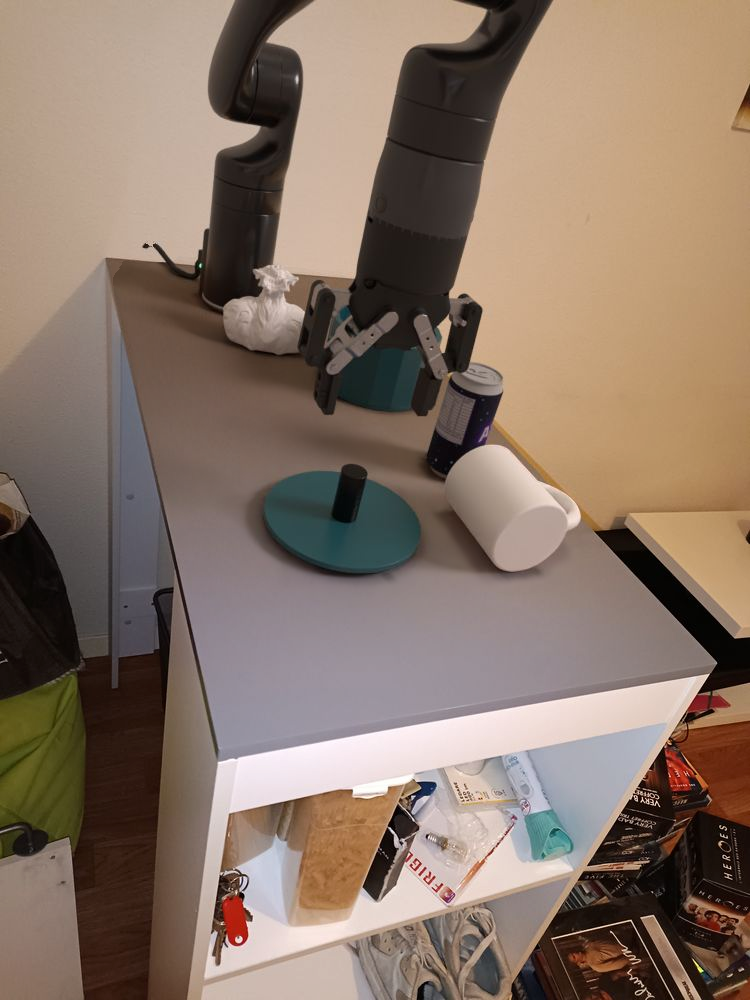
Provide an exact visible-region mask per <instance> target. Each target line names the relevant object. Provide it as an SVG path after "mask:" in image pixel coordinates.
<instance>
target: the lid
mask: <svg viewBox="0 0 750 1000" xmlns="http://www.w3.org/2000/svg"><path fill="white" fill-rule="evenodd" d="M368 474H369V473H368V470H367V469H366V468H365V467H364V466H362V465H359V464H356V463H347V464H344V465H342V467H341V469H340V471H334V470H314V471H313V470H312V471H304V472H301V473H296V474H293V475H290V476H288V477H285V478H283V479H281V480H280V481H279V482H277V483H275V485H274V486H272V488H270V490H269V491H268V493H267V494H266V497H265V500H264V504H263V509H262V512H263V513H262V515H263V519H264V524H265V525H266V528H267V530H268V532H269V533H270V534H271V536H272V537H273V538H274V540H275V541H276V542H278V544H279V545H281V546H282V547H283V549H285V550H286V551H288V552H289V553H291V554H293V555H294V556H295V557H298V558H299V559H301V560H303V561H305V562H307V563H310V564H312V565H314V566H317V567H321V568H323V569H326V570H331V571H335V572H342V573H348V574H372V573H380V572H384V571H389V570H391V569H393V568H396V567H398V566H400V565H403V564H404V563H405V562H407V561H408V560H409V559H411V557H412V556H413V555H415V552H416V551H417V550H418V547H419V544H420V542H421V538H422V527H421V523H420V519H419V517H418V516H417V513H416V512H415V511H414V509H413V507H412V506H411V505H410V504H409V503H408V502H407V501H406V500H405V499H404V498H403V497H402V496H401V495H399V494H397V493H396V492H395V491H393V490H391V489H390V488H388V487H387V486H385V485H383V484H382V483H379V482H377V481H374V480H372V479H370V478H368Z"/></svg>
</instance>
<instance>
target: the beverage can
mask: <svg viewBox="0 0 750 1000" xmlns="http://www.w3.org/2000/svg"><path fill="white" fill-rule="evenodd" d="M503 382H504V376H503V375H502V373H501V372H500V371H498V370H497V369H495V368H494V367H492V366H489V365H487V364H485V363H480V362H476V361H470V364H469V367H468V369H467V370H466V371H465V372H464V373H458V372H457V371H456V372H452V373H450V376H449V380H448V383H447V385H446V390H445V392H444V396H443V399H442V403H441V405H440V409H439V412H438V416H437V419H436V422H435V425H434V429H433V432H432V435H431V439H430V442H429V446H428V449H427V453H426V455H425V459H426V462H427V463H428V465H429V466H430V468H431V469H430V470H431V471H432V472H433V473H434V474H435V475H437V476H438V477H441V478H443V479H445V480H446V478H447V475H448V473H449V471H450V470H451V468H452V467H453V466H454V464H455V463H456V462H457V461H458V460H459V459H460V458H461V457H462V456H464V455H465V454H466V453H468V452H469V451H471V450H473V449H475V448H478V447H480V446H484V445H486V444H487V443H486V442H487V440H488V437H489V434H490V431H491V429H492V426H493V423H494V420H495V417H496V415H497V412H498V409H499V406H500V403H501V400H502V397H503V394H504V386H503Z"/></svg>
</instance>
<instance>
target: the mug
mask: <svg viewBox="0 0 750 1000" xmlns="http://www.w3.org/2000/svg"><path fill="white" fill-rule="evenodd" d="M443 492H444V497H445V499H446V501H447V503H448V504H449V505H450V506H451V508H452V509H453V511H454V512H455V513H456V515H457V516H458V518H459V519H460V520H461V522H462V523H463V524H464V526H465V527H466V528H467V530H468V531H469V532H470V533H471V535H472V536H473V537H474V540H476V542H477V543H478V545H479V546H480V547H481V549H483V551H484V552H485V554H486V555H487V556H488V558H489V559H490V561H491V562H492V563H493V565H494V566H496V568H498V569H500V570H501V571H505V572H513V573H515V572H523V571H525V570H528V569H532V568H533V567H535V566H537V565H539V564H541V563H543V562H544V561H545V560H546V559H548V557H550V556H552V554H554V552H555V551H556V550H557V549H558V548H559V546H560V545H561V544H562V542H563V540H564V538H565V537H566V535H567V532H568V531H572V530H573V529H575V528H576V527H578V525H579V524H580V522H581V519H582V518H581V517H582V516H581V511H580V508H579V507H578V504H577V503H576V502H575V501H574V499H573V498H572V497H570V495H568V494H566V493H565V492H564V491H562V490H560V489H558V488H556V487H554V486H552V485H550V484H548V483H545V482H542V481H539V480H537V478H536V477H535V476H534V475H533V473H531V472H530V471H529V470H528V468H527V467H526V466H525V465H524V464H523V463H522V462H521V461H520V459H518V458H517V456H516V455H515V454H514V453H513V452H512V451H511V450H510V449H509V448H507V447H505V446H503V445H500V444H485V445H484V446H480V447H478V448H475V449H473V450H471V451H469V452H468V453H466V454H465V455H464V456H462V457H461V458H460V459H459V460H458V461H457V462H456V463H455V464H454V466H453V467H452V468H451V470H450V471H449V473H448V475H447V478H446V479H445V482H444V491H443Z"/></svg>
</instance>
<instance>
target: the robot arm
mask: <svg viewBox="0 0 750 1000" xmlns="http://www.w3.org/2000/svg"><path fill="white" fill-rule="evenodd" d="M315 1H316V0H234V2H233V4H232V6H231V8H230V11H229V13H228V16H227V18H226V21H225V23H224V24H223V27H222V30H221V32H220V34H219V36H218V40H217V42H216V45H215V47H214V50H213V54H212V57H211V61H210V64H209V65H210V66H209V70H208V76H207V96H208V102H209V105H210V107H211V109H212V111H213V113H215V114H216V115H217V116H218V117H219V118H222V119H224V120H226V121H229V122H233V123H236V124H237V123H238V124H244V125H249V126H256V127H259V129H258V131H257V133H256V134H255V135H254V136H252V137H251V138H250V139H248V140H247V141H244V142H242V143H239V144H236V145H233V146H228V147H225V148H222V149H220V150H219V151H218V152H217V153H216V155H215V158H214V159H215V160H214V167H213V168H214V169H213V181H212V192H211V204H210V214H209V225H208V228H207V227H206V228H205V229H204V230H203V239H202V248H201V249H200V248H199V249H198V252H197V259H196V261H195V262H194V272H193V273H190V272H187V271H185V270H183V269H181V268H179V267H178V266H177V265H176V264H175V263H174V261H173V260H172V259H171V258H170V256H169V255H168V254H167V252H166V251H165V250H164V249H163V248H162V246H160V245H159V244H158V243H157V242H155V244H153V247H154V248H153V247H152V246H149V245H148V244H146V242H145V243H143V245H142V247H141V248H142V249H144V250H145V249H146V250H148V249H149V248H153V249H155V250H156V251H157V252H158V254H159V256H161V258H162V260H163V261H164V262H165V263H166V264H167V266H169V268H170V270H171V271H172V272H174V273H175V274H178V275H179V276H181V277H183V278H185V279H187V280H188V279H189V280H196V279H198V278H199V284H198V296H200V297H201V301H202V303H203V304H204V305H205V306H206V307H208V308H210V309H211V310H212V311H216V312H218V313H220V314H221V313H222V314H223V313H224V311H223V307H224V306H225V305H226V304H227V303H228V302H229V301H231V300H232V299H240V298H242V297H246V296H252V297H259V295H260V294H261V293H262V290H263V287H262V286H258V284H259V282H260V278H259V279H256V278H255V277H256V276H255V274H254V273H253V269H257V270H258V269H260V268H264V267H266V266H267V265H273V264H274V262H275V253H276V249H277V248H276V247H277V239H278V232H279V226H280V218H281V211H282V204H283V197H284V191H285V183H286V177H287V173H288V171H289V167H290V164H291V159H292V152H293V148H294V147H293V145H294V142H295V135H296V130H297V126H298V121H299V116H300V110H301V105H302V99H303V91H304V68H303V62H302V59H301V57H300V55H299V54H298V52H297V51H296V50H295V49H293V48H291V47H288V46H285V45H281V44H277V43H273V42H272V43H271V42H267V41H268V40H269V38H270V37H272V35H273V33H274V32H276V30H277V29H279V28H280V27H281V26H282V25H284V24H285V23H286V22H287V21H289V20H290V19H292V18H293V17H295V16H296V15H298V14H299V13H300V12H301V11H303V10H304V9H306V8H307V7H309V6H310V5H311V4H313V3H315ZM452 1H453V2H456V3H461V4H464V5H468V6H471V7H475V8H479V9H481V10H485V11H486V12H485V14H484V16H483V18H482V20H481V22H480V23H479V25H478V26H477V27H476V28H475V29H474V31H473V32H472V34H471V35H470V36H468V38H466V39H465V40H463V41H459V42H448V43H445V42H444V43H441V42H440V43H438V42H437V43H436V42H435V43H434V42H431V43H430V42H429V43H421V44H416V45H414V46H412V47H411V48H410V49H409V50H408V51H407V52H406V53H405V55H404V57H403V59H402V63H401V66H400V69H399V73H398V78H397V84H396V88H395V94H394V99H393V103H392V109H391V112H390V113H391V114H390V118H389V122H388V127H387V132H386V137H385V142H384V146H383V149H382V152H381V155H380V157H379V159H378V163H377V167H376V170H375V173H374V178H373V184H372V189H371V193H370V197H369V203H368V208H367V211H366V216H365V217H366V218H365V222H364V226H363V227H364V228H363V232H362V238H361V242H360V247H359V252H358V257H357V262H356V269H355V270H356V271H355V276H354V278H353V281H352V282H351V284H350V285H349V286H348V288H345V287H336V286H330V285H328V284H327V283H326V282H325V281H324V280H322V279H316V280H314V281H313V282H312V283H311V285H310V289H309V294H308V298H307V302H306V306H305V310H304V311H305V315H304V319H303V323H302V328H301V332H300V336H299V341H298V345H297V348H298V350H299V352H300V354H301V356H302V358H303V360H304V362H305V364H306V365H307V366H308V367H310V368H311V367H316V368H317V371H316V377H315V382H314V388H313V393H312V395H313V399H314V402H315V403H316V405H317V407H318V408H319V409H320V411H321V412H322V414H323V416H334V414H335V410H336V405H337V401H338V397H339V396H338V391H339V387H340V382H341V377H342V376H341V375H340V373H339V372H340V371H341V370H342V369H343V368H344V367H345V366H346V365H347V364H348V363H349V362H350V361H351V360H352V359H353V358H357V357H360V356H361V355H362V354H363V353H364V352H365V351H366V350H367V349H368V348H369V347H370V346H371V345H372V346H373V347H374V348H375V349H388V348H397V349H400V350H404V351H411V348H413V347H416V348H417V349H418V352H419V354H420V356H421V358H422V360H423V363H424V364H425V368H421V367H420V370H419V374H418V378H417V381H416V385H415V389H414V392H413V396H412V400H411V408H412V409H411V410H412V411H413V412H414V413H415V414H416V415H415V416H417V417H427V416H428V415H429V412H430V411H433V409H434V408H435V406H436V403H437V401H438V397H439V394H440V390H441V387H442V383H443V380H444V379H445V378H446V377H447V376H448V375H449V374H452V373H453V372H456V371H457V372H458V373H464V372H465V371H466V370H467V369H468V367H469V364H470V362H471V360H472V355H473V352H474V348H475V343H476V339H477V336H478V331H479V327H480V324H481V320H482V316H483V311H484V309H483V307H482V306H481V305H480V304H479V303H478V302H477V301H476V300H475V299H474V298H472V297H471V296H470V295H469V294H467V293H465V292H464V293H461V294H459V295H458V296H457V298H456V297H454V298H453V297H450V292H451V290H452V289H453V288H454V286H455V283H456V279H457V277H458V272H459V269H460V265H461V262H462V258H463V254H464V250H465V248H466V243H467V241H468V237H469V233H470V230H471V226H472V223H473V221H474V219H475V212H476V209H477V205H478V200H479V196H480V191H481V185H482V177H483V171H484V167H485V161H486V159H487V155H488V152H489V148H490V145H491V141H492V137H493V134H494V130H495V128H496V127H495V126H496V123H497V119H498V116H499V112H500V108H501V105H502V101H503V99H504V97H505V94H506V92H507V90H508V87H509V85H510V83H511V81H512V79H513V77H514V75H515V73H516V71H517V69H518V67H519V65H520V63H521V61H522V59H523V57H524V55H525V53H526V51H527V49H528V47H529V46H530V43H531V41H532V39H533V38H534V36H535V35H536V32H537V30H538V28H539V27H540V25H541V23H542V21H543V20H544V19H545V16H546V14H547V13H548V11H549V9H550V7H551V6H552V5H553V2H554V0H452ZM156 243H157V244H156ZM345 305H347V307H348V309H349V311H350V313H351V315H350V316H349V317H348V318H347V319H346V320H345V321H344V322H343V323H342V324H341V325H340V326H339V327H338V328H337V329H336V332H335V335H334V336H333V337H332V338H331V339H330V340H329V341H328V342H327V338H328V334H329V329H330V324H331V319H332V317H336V316H337V315H338V313H339V311H340V309H341V308H342V307H343V306H345ZM447 318H448V321H450V327H449V331H448V335H447V339H446V345H445V349H444V352H442V350H441V346H440V347H439V345H438V342H437V340H436V337H435V335H434V333H433V330H434V329H435V328H436V327H437V328H438V327H439V326H440V325H441V323H443V322H444V321H445V320H446V319H447ZM358 330H359V332H360V333H359V334H358V335H357V336H356V337H355V338H354V335H355V334H356V332H357V331H358Z"/></svg>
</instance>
